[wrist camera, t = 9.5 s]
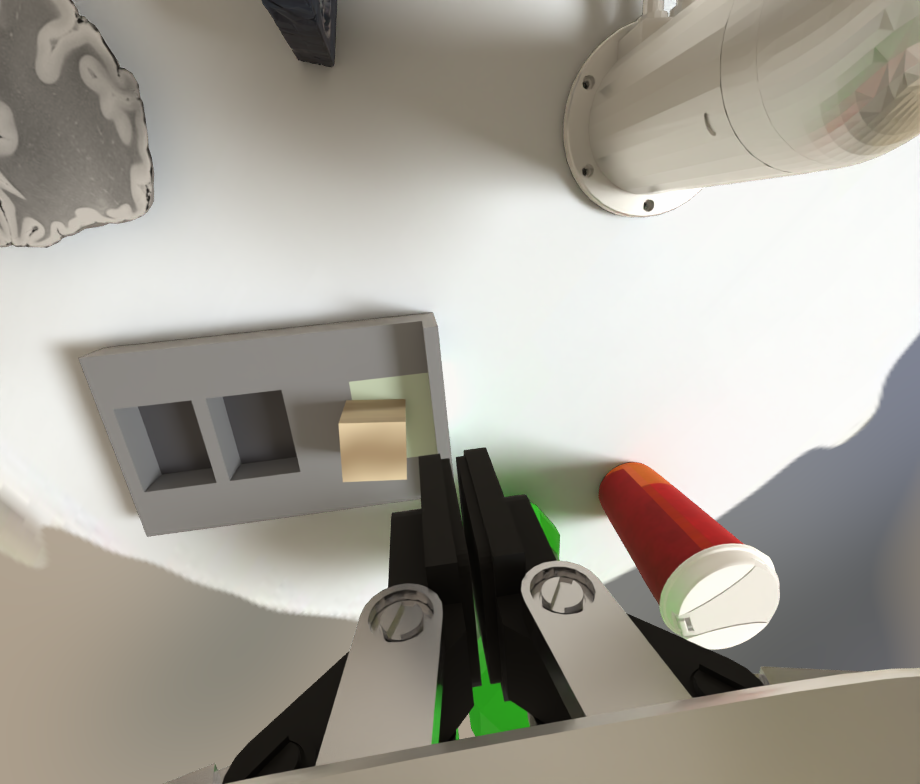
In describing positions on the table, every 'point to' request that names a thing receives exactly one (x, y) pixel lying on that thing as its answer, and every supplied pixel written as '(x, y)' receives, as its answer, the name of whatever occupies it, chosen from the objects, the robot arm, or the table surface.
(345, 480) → the birch block
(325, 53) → the vhs cassette tape
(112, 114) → the brain slice
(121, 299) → the table surface
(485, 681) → the plastic bottle
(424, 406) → the box
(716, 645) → the coffee cup
